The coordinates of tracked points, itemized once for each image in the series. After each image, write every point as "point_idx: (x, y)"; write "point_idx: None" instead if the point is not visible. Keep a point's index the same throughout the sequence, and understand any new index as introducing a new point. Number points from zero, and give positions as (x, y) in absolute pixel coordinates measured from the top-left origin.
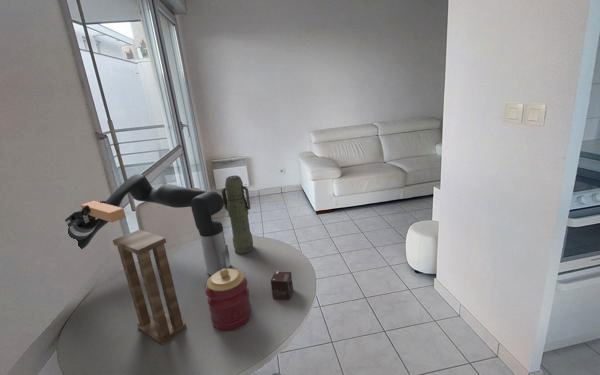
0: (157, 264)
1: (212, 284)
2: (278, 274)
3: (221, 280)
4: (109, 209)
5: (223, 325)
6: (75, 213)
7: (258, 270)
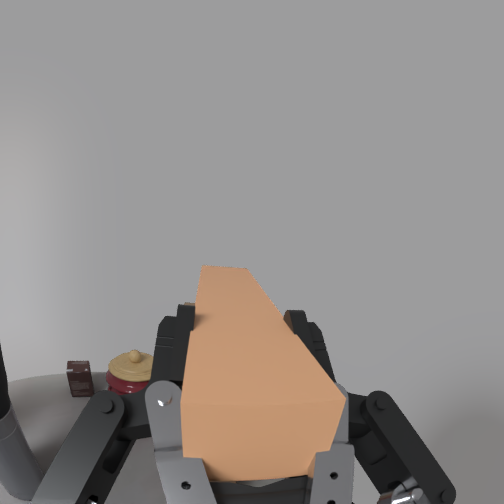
0: None
1: None
2: (74, 368)
3: (147, 360)
4: (231, 274)
5: None
6: (375, 395)
7: (26, 423)
